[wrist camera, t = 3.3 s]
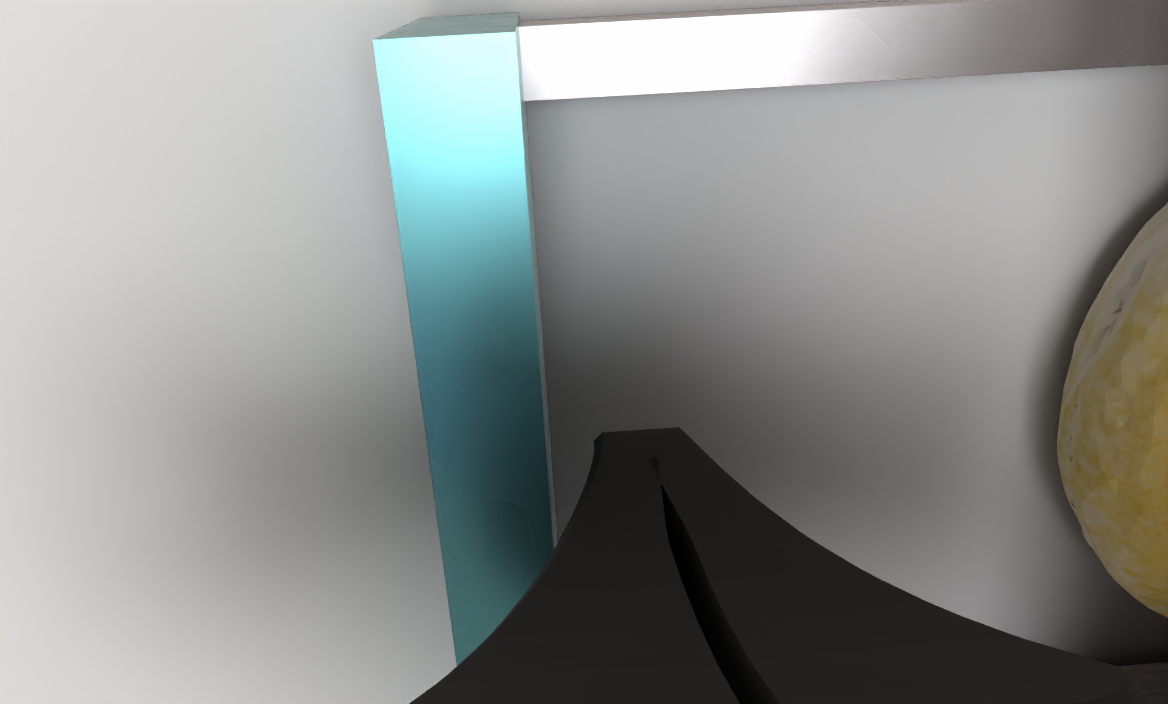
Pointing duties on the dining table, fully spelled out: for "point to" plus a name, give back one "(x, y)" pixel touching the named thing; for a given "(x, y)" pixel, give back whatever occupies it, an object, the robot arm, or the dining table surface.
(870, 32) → the drawer
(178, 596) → the dining table surface
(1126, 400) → the bread roll
